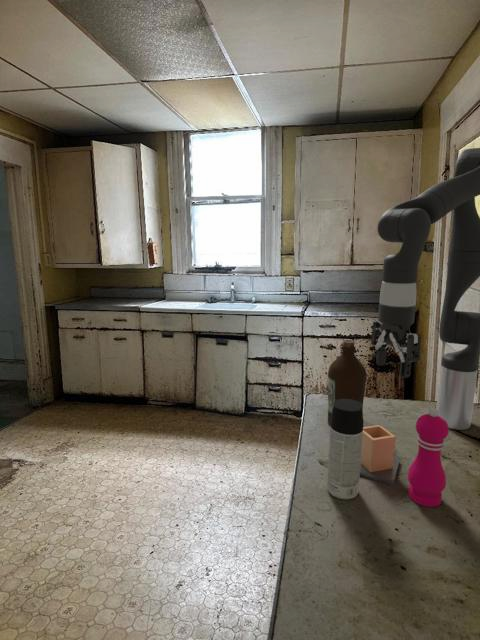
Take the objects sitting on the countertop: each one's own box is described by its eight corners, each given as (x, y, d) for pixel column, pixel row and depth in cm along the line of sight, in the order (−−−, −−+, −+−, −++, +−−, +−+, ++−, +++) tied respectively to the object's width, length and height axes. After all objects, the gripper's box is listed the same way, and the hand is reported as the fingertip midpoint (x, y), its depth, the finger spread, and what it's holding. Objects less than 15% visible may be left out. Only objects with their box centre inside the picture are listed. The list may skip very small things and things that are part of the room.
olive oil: (358, 416, 121) (363, 337, 116) (366, 433, 111) (373, 346, 105) (323, 415, 122) (326, 336, 117) (328, 432, 111) (332, 346, 106)
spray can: (359, 485, 88) (365, 400, 83) (357, 504, 81) (364, 413, 77) (328, 479, 90) (332, 395, 86) (324, 497, 83) (329, 408, 79)
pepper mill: (427, 513, 79) (438, 419, 74) (398, 492, 85) (406, 405, 81) (451, 502, 82) (462, 412, 78) (421, 483, 88) (430, 399, 84)
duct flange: (357, 452, 101) (359, 426, 99) (399, 462, 96) (401, 436, 95) (347, 472, 92) (349, 444, 91) (393, 484, 88) (395, 455, 86)
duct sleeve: (377, 454, 98) (379, 424, 96) (392, 468, 92) (395, 436, 91) (355, 458, 96) (357, 428, 94) (370, 472, 90) (372, 440, 89)
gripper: (435, 306, 82) (427, 380, 86) (391, 295, 96) (387, 359, 99) (404, 309, 80) (397, 384, 84) (364, 297, 94) (360, 362, 97)
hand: (392, 370), depth 92 cm, fingers open, 8 cm apart
